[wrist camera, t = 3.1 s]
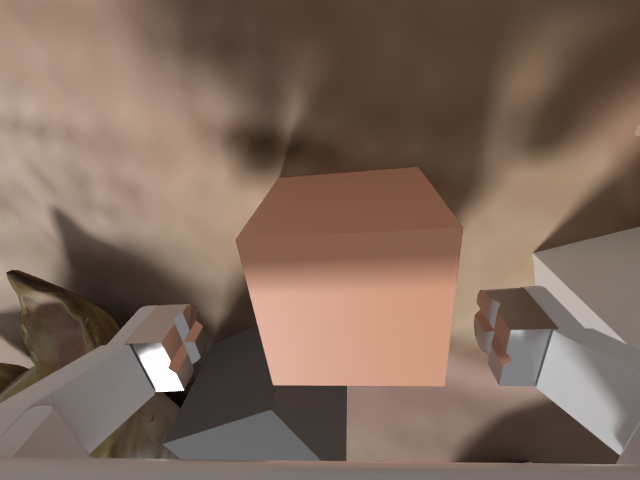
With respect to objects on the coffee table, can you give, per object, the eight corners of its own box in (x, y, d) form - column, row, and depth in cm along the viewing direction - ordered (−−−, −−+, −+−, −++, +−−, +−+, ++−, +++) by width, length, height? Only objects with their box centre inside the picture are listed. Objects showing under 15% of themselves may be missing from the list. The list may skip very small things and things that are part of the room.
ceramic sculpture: (82, 678, 14) (-292, 511, 10) (181, 471, 22) (-11, 332, 18) (240, 662, 10) (-254, 391, 7) (291, 419, 18) (79, 231, 14)
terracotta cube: (417, 166, 11) (463, 227, 7) (413, 282, 13) (444, 386, 9) (279, 177, 12) (235, 239, 7) (297, 286, 14) (273, 385, 9)
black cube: (295, 307, 14) (271, 409, 10) (347, 374, 16) (346, 486, 12) (213, 342, 16) (162, 444, 12) (269, 400, 18) (243, 507, 13)
